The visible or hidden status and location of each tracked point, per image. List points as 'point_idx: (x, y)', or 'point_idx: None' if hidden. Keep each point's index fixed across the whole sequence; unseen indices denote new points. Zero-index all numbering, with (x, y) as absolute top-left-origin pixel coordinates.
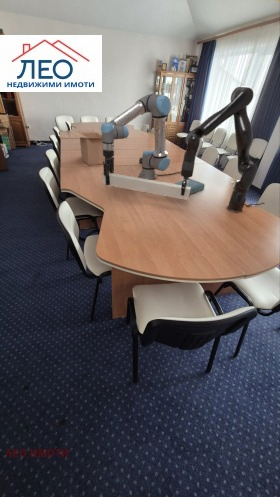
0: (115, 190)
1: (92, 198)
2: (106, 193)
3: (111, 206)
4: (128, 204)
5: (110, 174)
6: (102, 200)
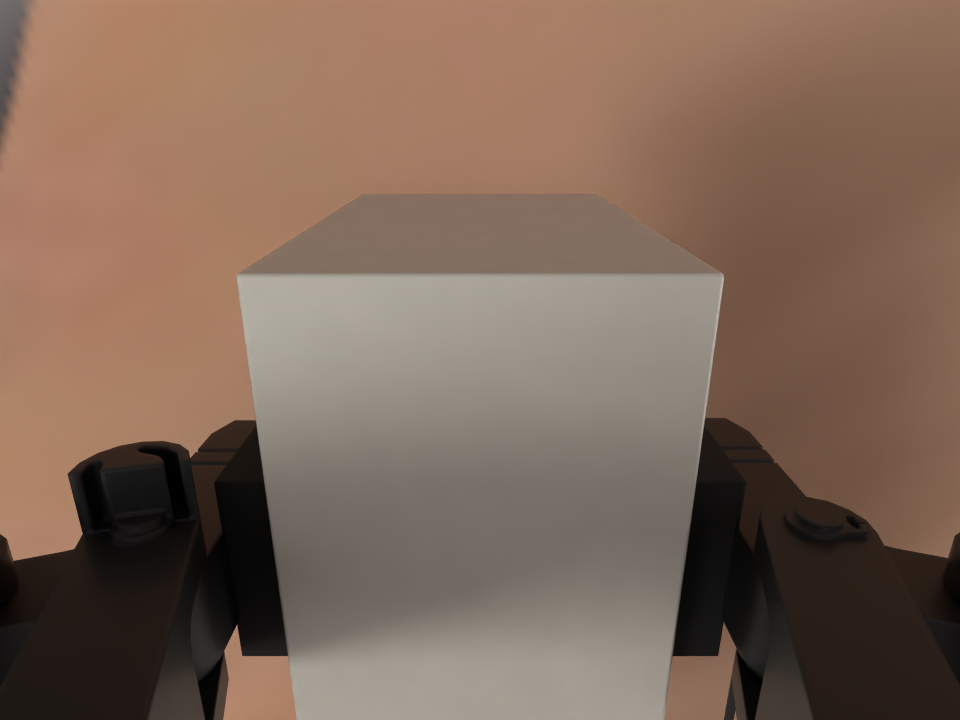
0: (762, 294)
1: (115, 13)
2: (526, 185)
3: (52, 508)
4: (277, 685)
5: (447, 673)
6: (161, 269)
